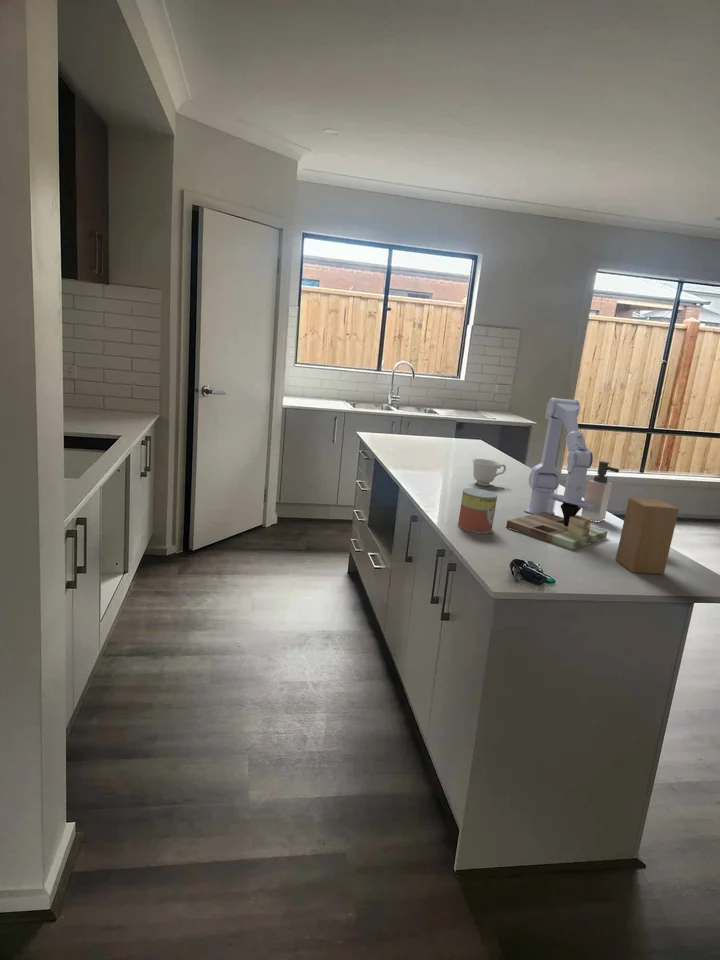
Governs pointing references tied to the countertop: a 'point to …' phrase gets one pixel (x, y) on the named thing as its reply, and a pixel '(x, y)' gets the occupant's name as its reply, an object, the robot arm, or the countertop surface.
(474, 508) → the canned food
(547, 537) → the trap board
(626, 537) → the wooden block
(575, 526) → the maple cube
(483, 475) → the teacup
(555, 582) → the countertop surface
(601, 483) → the soap dispenser
